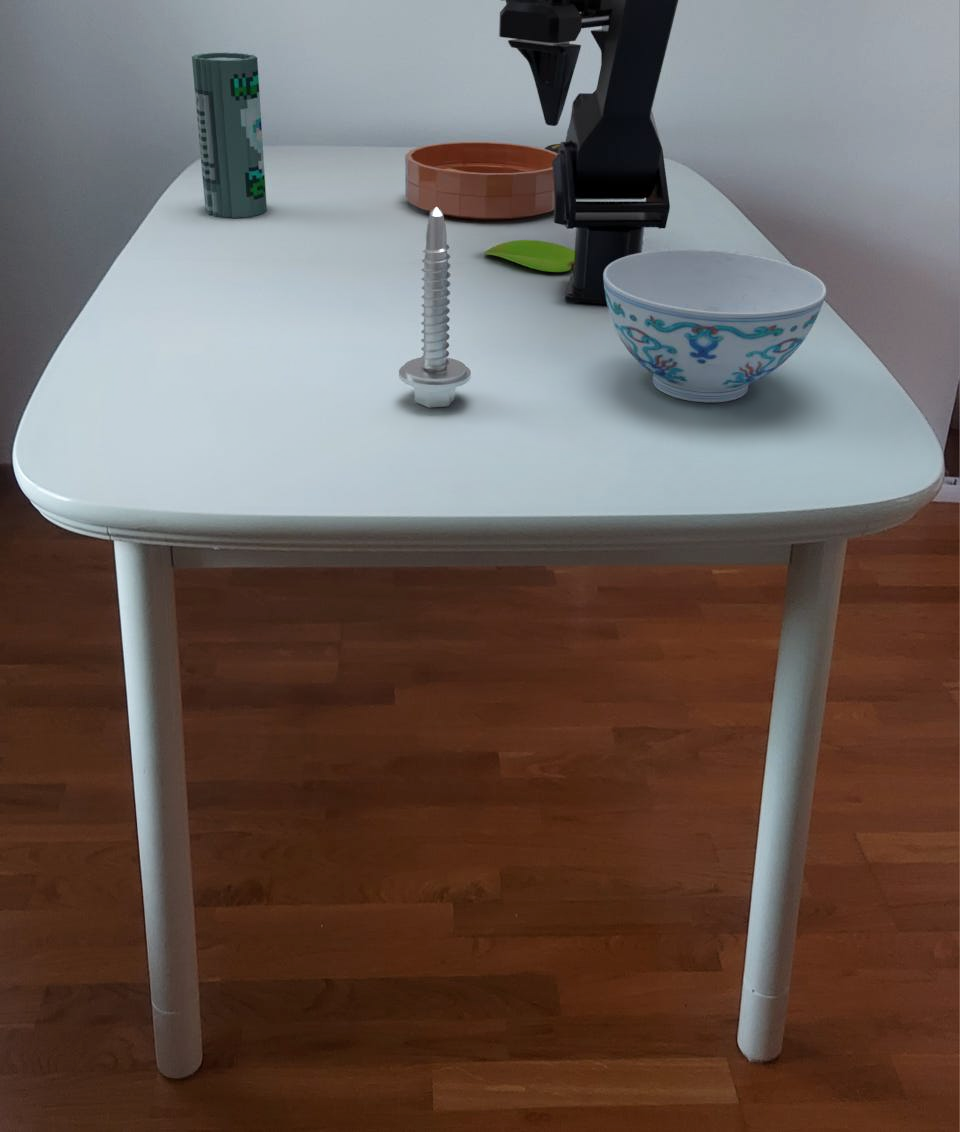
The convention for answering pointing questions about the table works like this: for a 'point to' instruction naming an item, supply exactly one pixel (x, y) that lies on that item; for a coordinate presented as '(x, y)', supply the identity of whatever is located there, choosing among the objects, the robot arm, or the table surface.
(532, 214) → the bowl
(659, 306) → the chinaware
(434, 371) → the screw
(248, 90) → the can
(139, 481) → the table surface
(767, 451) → the table surface
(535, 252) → the decorative leaf
